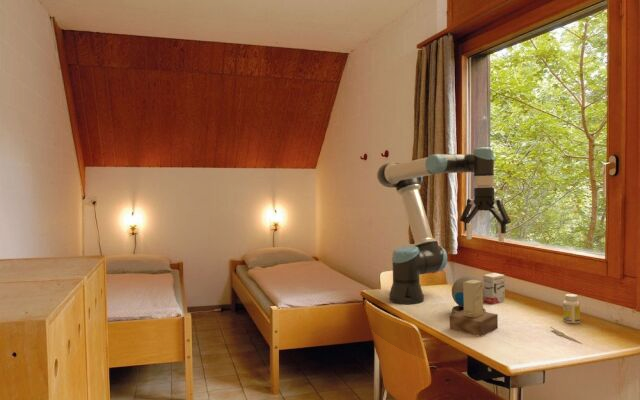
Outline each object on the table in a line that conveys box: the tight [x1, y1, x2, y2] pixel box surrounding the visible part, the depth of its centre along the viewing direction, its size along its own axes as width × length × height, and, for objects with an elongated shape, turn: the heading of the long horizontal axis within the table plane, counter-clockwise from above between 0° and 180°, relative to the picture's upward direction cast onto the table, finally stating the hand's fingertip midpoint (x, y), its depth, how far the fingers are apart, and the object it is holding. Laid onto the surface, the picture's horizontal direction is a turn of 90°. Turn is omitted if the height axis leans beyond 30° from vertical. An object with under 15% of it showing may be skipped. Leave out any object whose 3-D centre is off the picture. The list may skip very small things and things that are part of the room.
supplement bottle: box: [562, 293, 581, 324], centre depth 175 cm, size 5×5×10 cm
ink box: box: [483, 272, 506, 305], centre depth 206 cm, size 8×5×12 cm, turn 123°
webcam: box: [451, 275, 487, 315], centre depth 189 cm, size 13×13×15 cm
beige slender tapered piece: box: [549, 325, 583, 345], centre depth 160 cm, size 15×3×2 cm, turn 12°
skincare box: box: [463, 280, 484, 318], centre depth 170 cm, size 6×4×12 cm
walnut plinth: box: [449, 310, 499, 337], centre depth 170 cm, size 12×12×5 cm
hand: (484, 240), depth 189 cm, fingers open, 13 cm apart
